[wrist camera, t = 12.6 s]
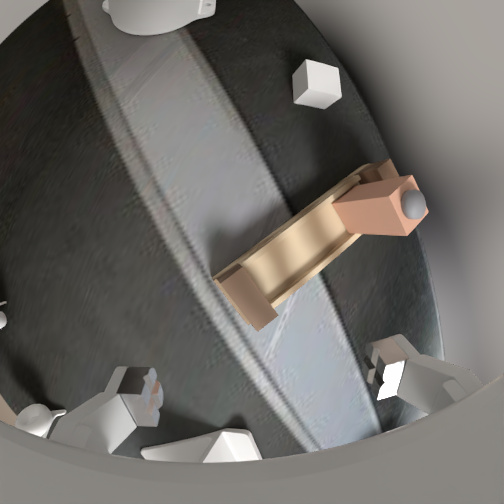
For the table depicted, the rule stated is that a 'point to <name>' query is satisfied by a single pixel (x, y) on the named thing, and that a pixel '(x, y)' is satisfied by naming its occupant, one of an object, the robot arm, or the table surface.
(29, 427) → the headset
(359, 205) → the pink capped carton
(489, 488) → the robot arm
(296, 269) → the track
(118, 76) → the table surface
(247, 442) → the tablet stand
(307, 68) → the white cube
